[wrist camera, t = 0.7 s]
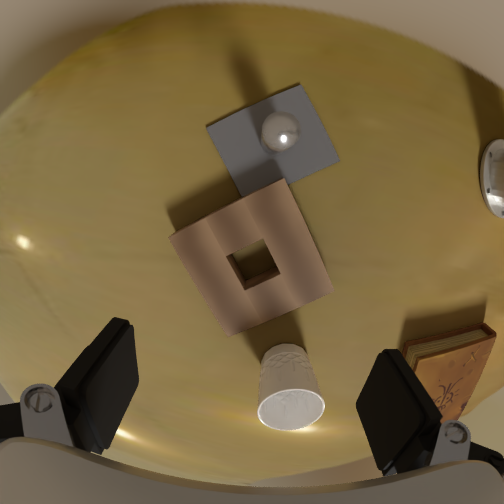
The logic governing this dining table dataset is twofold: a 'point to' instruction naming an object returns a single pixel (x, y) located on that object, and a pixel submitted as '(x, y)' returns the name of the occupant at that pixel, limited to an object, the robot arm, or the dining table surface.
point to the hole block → (241, 235)
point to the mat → (256, 159)
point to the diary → (451, 365)
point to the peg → (279, 132)
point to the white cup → (288, 389)
